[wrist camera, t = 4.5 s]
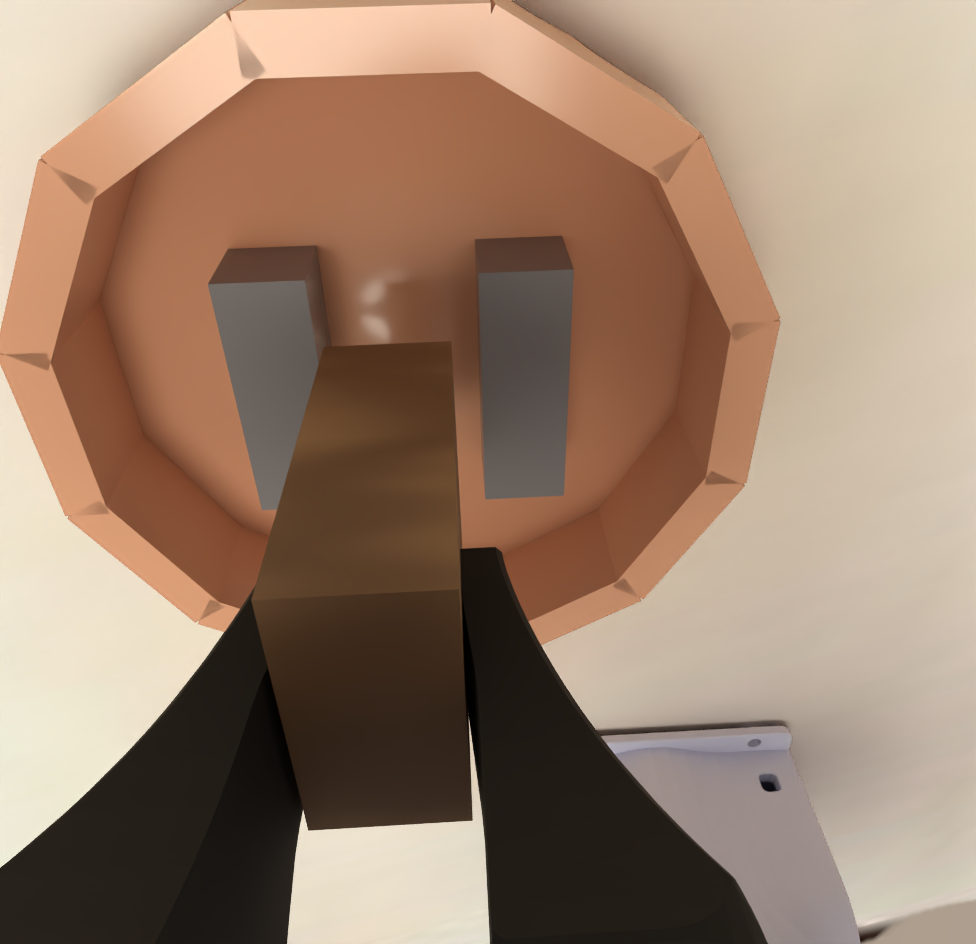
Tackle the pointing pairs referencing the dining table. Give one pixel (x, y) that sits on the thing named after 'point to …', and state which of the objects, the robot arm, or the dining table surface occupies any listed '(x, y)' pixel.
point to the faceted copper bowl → (390, 294)
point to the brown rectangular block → (372, 594)
